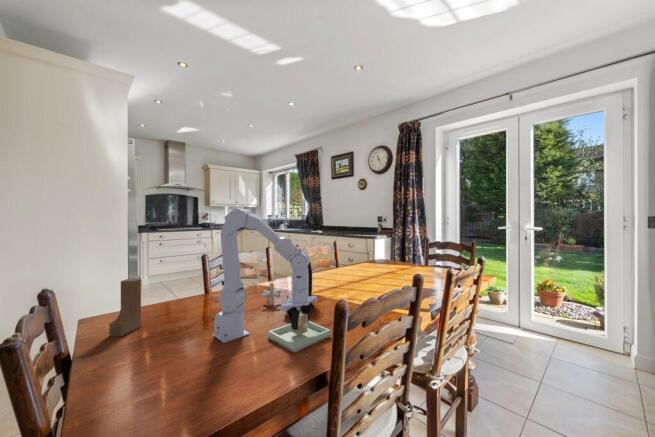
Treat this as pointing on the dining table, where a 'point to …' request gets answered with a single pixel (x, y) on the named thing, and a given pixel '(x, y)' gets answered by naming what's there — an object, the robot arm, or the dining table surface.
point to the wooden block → (128, 309)
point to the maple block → (301, 324)
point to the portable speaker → (310, 279)
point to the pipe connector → (271, 293)
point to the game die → (289, 300)
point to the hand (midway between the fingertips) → (299, 327)
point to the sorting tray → (298, 336)
